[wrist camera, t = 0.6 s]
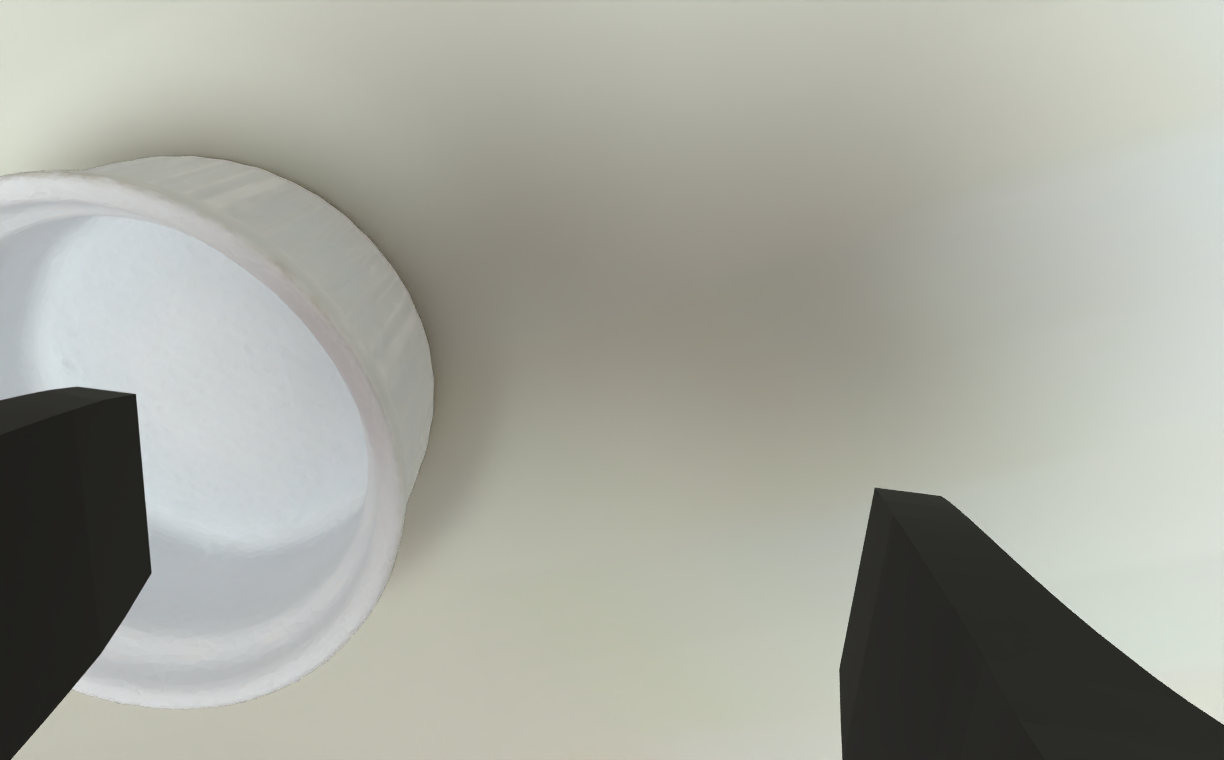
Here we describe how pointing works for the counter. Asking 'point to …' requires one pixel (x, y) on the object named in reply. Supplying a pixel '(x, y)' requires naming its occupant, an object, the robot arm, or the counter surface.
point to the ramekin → (226, 406)
